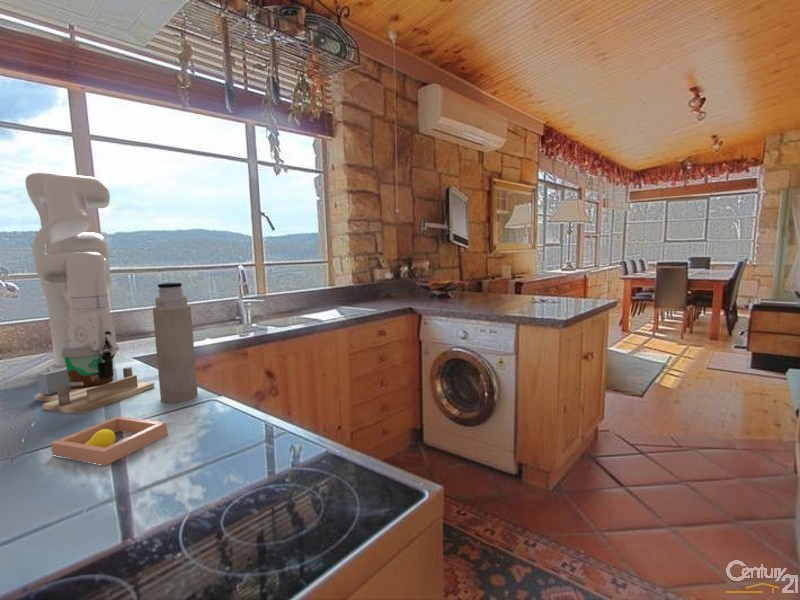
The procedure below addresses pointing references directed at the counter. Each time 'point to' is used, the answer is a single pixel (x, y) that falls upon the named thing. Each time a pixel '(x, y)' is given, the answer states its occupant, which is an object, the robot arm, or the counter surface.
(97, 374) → the food container
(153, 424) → the pink square frame
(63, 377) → the block
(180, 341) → the thermos bottle
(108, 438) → the light bulb
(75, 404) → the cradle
